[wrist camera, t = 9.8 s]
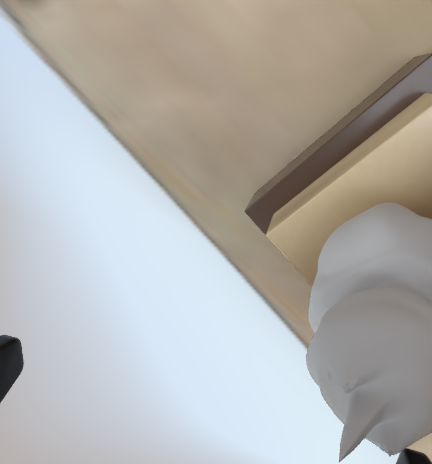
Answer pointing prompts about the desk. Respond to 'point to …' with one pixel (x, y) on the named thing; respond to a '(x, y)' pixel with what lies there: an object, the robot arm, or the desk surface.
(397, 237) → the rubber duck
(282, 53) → the desk surface
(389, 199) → the memo paper holder
